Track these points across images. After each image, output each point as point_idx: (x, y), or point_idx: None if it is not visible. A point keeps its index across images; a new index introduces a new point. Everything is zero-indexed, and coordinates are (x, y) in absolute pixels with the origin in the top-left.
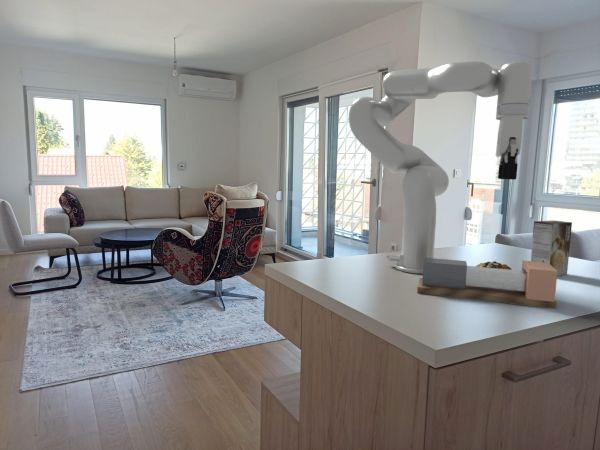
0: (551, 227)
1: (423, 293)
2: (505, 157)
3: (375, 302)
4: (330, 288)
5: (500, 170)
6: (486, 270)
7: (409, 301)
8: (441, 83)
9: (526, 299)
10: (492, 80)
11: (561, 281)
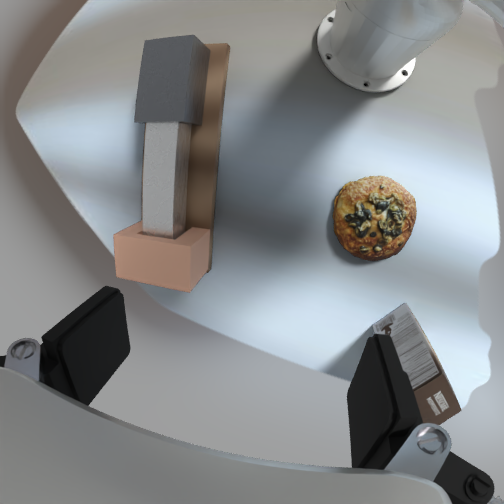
0: None
1: None
2: (5, 364)
3: (102, 18)
4: None
5: (376, 384)
6: (146, 161)
7: (114, 51)
8: None
9: (142, 219)
10: None
11: (341, 335)
